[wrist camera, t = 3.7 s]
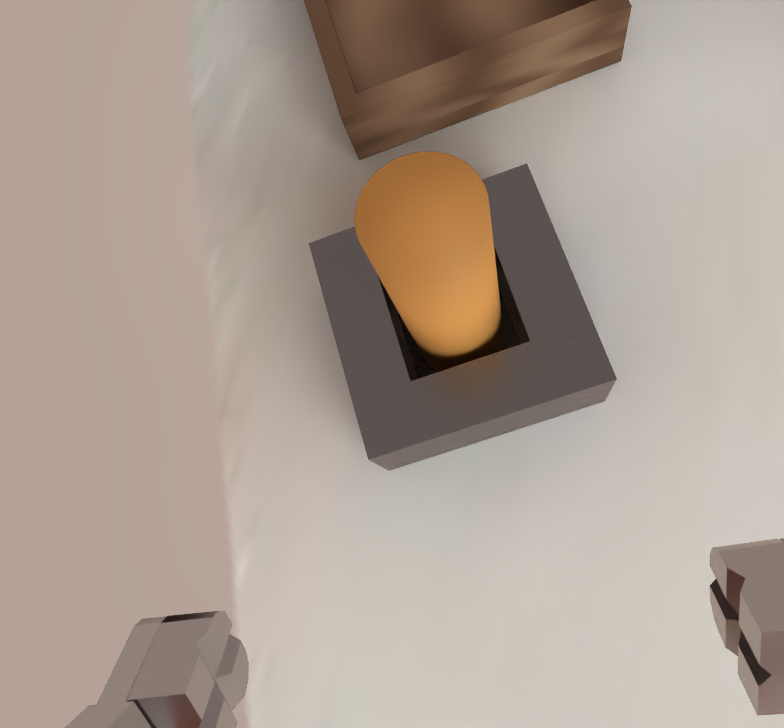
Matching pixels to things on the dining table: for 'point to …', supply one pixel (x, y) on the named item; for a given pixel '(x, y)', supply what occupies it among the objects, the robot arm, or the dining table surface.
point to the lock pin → (435, 254)
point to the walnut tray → (454, 58)
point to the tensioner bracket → (478, 377)
